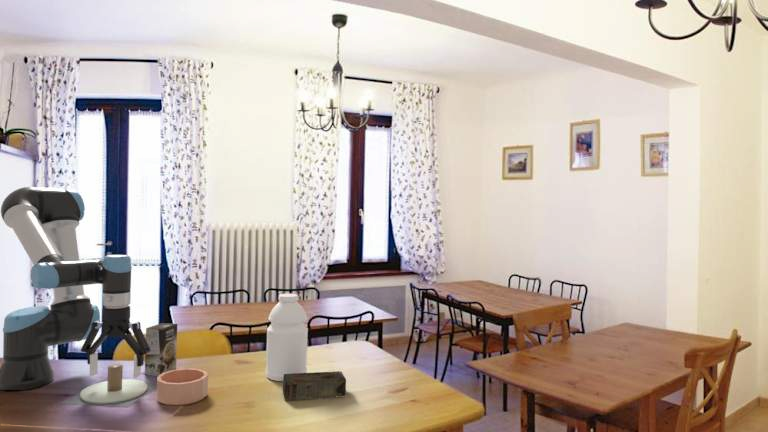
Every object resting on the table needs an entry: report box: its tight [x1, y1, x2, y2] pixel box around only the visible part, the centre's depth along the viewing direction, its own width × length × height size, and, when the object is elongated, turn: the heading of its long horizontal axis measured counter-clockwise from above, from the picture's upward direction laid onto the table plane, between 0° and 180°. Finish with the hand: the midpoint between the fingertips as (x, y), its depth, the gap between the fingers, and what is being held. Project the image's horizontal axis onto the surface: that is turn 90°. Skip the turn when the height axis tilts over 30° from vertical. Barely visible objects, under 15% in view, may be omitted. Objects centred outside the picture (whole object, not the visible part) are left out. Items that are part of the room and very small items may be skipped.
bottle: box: [265, 293, 309, 382], centre depth 177 cm, size 14×14×28 cm
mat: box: [60, 379, 157, 408], centre depth 155 cm, size 20×20×1 cm
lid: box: [79, 363, 147, 404], centre depth 155 cm, size 18×18×8 cm
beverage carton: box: [282, 370, 347, 402], centre depth 160 cm, size 8×19×7 cm, turn 107°
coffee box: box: [144, 322, 178, 377], centre depth 176 cm, size 9×6×16 cm
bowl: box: [156, 367, 209, 406], centre depth 154 cm, size 14×14×6 cm
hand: (115, 375), depth 155 cm, fingers open, 13 cm apart
